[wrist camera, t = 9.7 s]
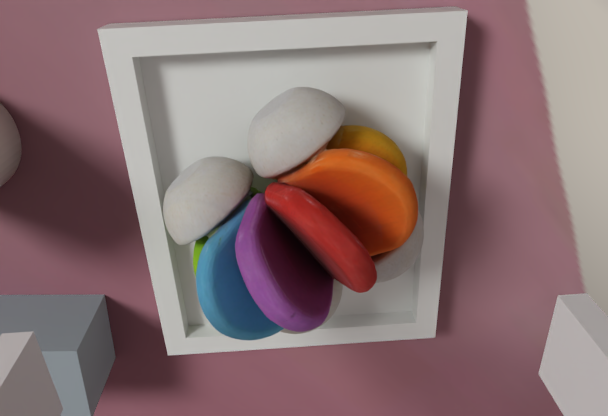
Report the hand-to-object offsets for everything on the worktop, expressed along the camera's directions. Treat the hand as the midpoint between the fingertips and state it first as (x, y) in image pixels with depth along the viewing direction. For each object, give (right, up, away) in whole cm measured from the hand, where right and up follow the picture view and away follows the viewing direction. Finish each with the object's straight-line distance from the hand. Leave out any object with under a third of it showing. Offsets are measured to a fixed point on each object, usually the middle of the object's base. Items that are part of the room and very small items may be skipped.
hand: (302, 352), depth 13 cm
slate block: (-13, -2, +12) cm, 18 cm away
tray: (0, +4, +9) cm, 10 cm away
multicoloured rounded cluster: (0, +4, +9) cm, 10 cm away
